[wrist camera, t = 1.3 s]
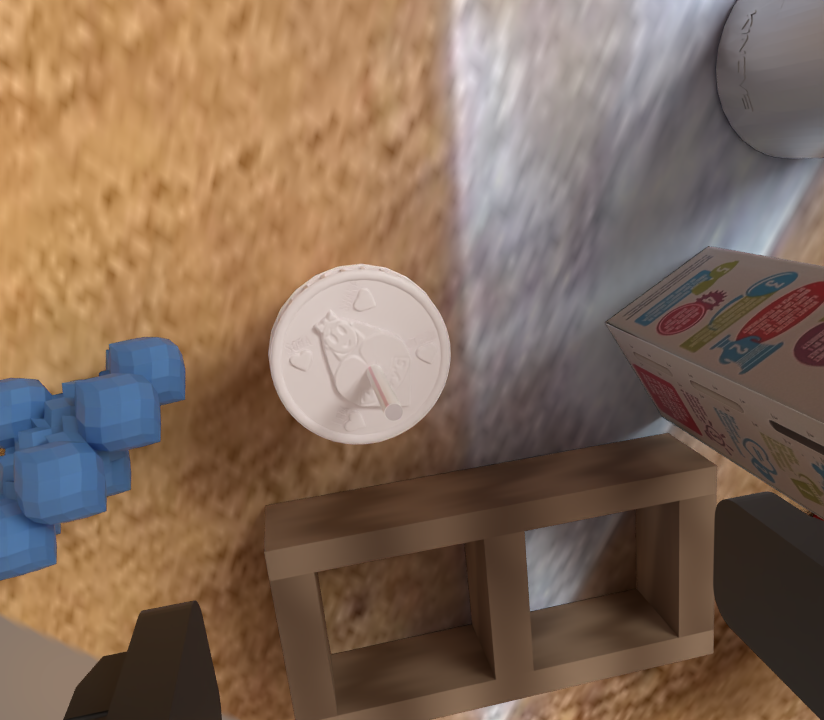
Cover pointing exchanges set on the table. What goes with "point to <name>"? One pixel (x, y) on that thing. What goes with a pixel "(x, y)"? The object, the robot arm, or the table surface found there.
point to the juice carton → (738, 362)
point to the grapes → (77, 445)
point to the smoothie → (359, 354)
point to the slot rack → (499, 580)
